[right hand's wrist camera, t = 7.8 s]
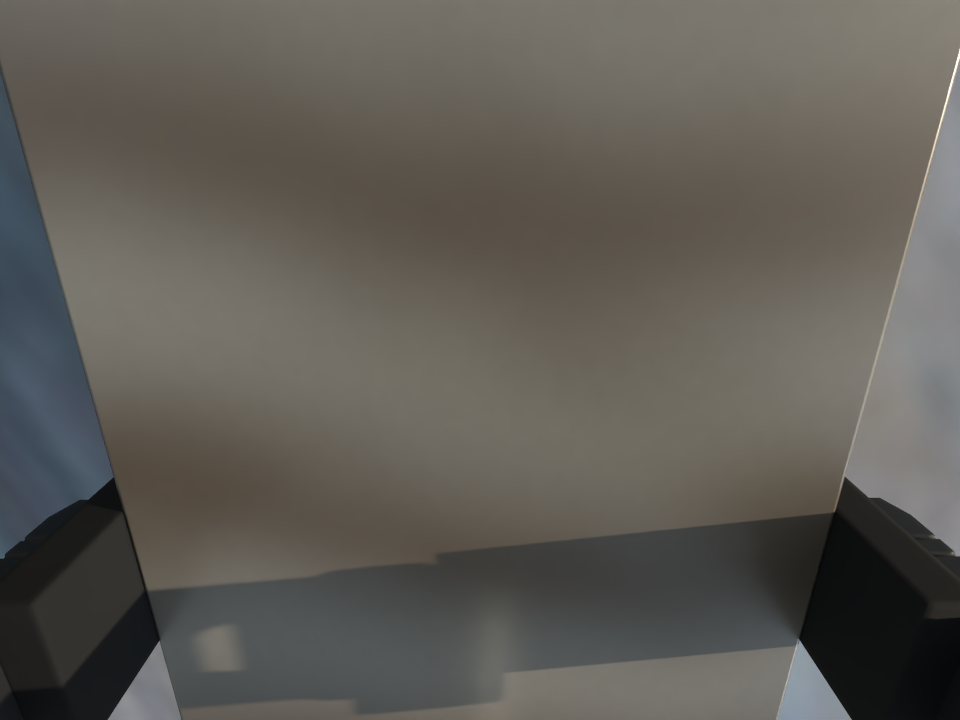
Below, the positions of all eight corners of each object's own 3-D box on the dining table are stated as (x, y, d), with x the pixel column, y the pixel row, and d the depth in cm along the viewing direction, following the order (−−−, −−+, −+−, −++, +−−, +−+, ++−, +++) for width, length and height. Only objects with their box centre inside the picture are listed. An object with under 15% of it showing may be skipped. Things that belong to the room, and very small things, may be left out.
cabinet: (194, -394, 11) (-526, -1780, 3) (762, -394, 11) (1474, -1774, 3) (310, 494, 18) (187, 746, 10) (648, 494, 18) (773, 745, 10)
